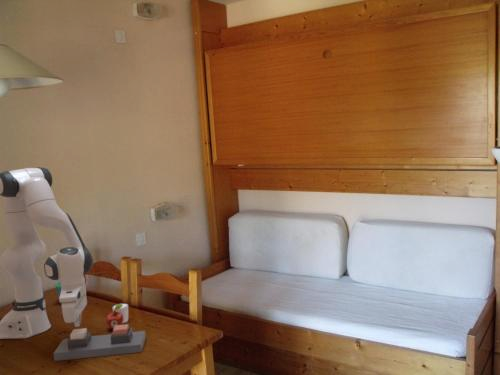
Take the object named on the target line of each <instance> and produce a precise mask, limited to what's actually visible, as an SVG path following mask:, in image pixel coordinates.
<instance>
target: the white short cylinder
mask: <svg viewBox="0 0 500 375" xmlns="http://www.w3.org/2000/svg"><path fill="white" fill-rule="evenodd" d="M121 304H122V305H123V306H122V307H121V308H119V309H117V310H115V306H116V305H117V304H115V305H113V306H112V308H111V309H112V313H113V312H114V310H115V312H120V313H121V314H122V315H123V322H122V324H125V323H127V322H128V321H129V304H128V303H121Z"/></svg>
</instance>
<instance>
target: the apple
mask: <svg viewBox="0 0 500 375" xmlns="http://www.w3.org/2000/svg"><path fill="white" fill-rule="evenodd" d="M122 304H123V303H117V304H115V305H116V306H115V310H117V309H119V308H121V307H122V306H123V305H122ZM115 310H114V312H113V311H112V312H110V313H109V314H107V316H106V318H105V319H106V324H107V326H108V327H109V328H110V329H111V330H113V329H114V327H115V325H123V323H122V322H123V315H122V314H121V313H120V312H115Z"/></svg>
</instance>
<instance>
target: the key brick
mask: <svg viewBox="0 0 500 375" xmlns="http://www.w3.org/2000/svg"><path fill="white" fill-rule="evenodd" d="M129 328H130V327H129V323H126V324H125V323H123V324H121V325H115V327H114V329H112V332H113V335H114V336H117V335H127V334H128V332H129Z"/></svg>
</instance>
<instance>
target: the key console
mask: <svg viewBox="0 0 500 375" xmlns="http://www.w3.org/2000/svg"><path fill="white" fill-rule="evenodd" d="M145 338H147V337H146V331H145V330H140V331H133V327H129V332H128V334H127V335H117V336H114V335H113V331H112V333H110V334H109V333H108V334H101V335H100V334H99V335H92V334H91V331H87V336H86V338H85V339H76V340H71V338H70V337H69V338H63V339H62V340H61V341H60V343H59V345H58V346H57V348H56V349H55V350H54V352H53V360H54V362H57V361H58V362H60V361H67V360H69V361H70V360H79V359H88V358H96V357H109V356H118V355H127V354H136V353H137V354H139V353H142V352H143V348H144V345H145V341H146V339H145Z"/></svg>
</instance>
